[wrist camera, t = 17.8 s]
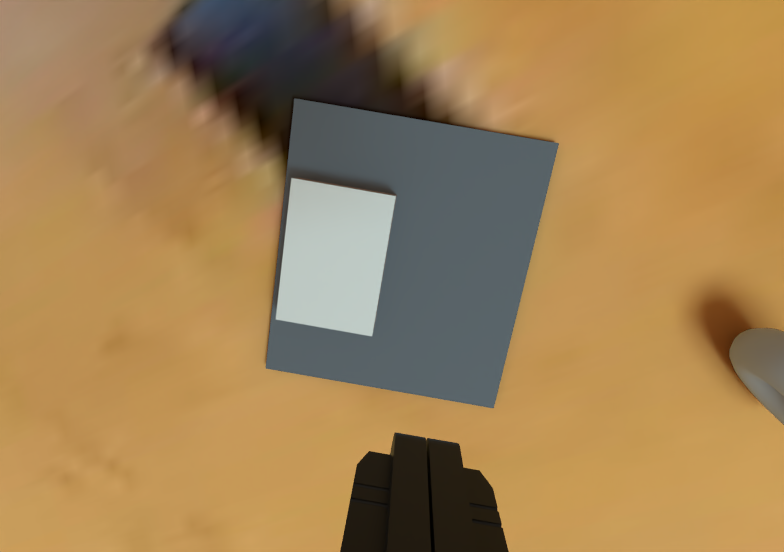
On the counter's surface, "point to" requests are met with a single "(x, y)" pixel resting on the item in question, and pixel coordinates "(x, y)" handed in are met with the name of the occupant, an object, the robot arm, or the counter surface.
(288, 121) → the counter surface
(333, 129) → the mat
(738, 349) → the donut
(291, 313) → the tile
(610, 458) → the counter surface
